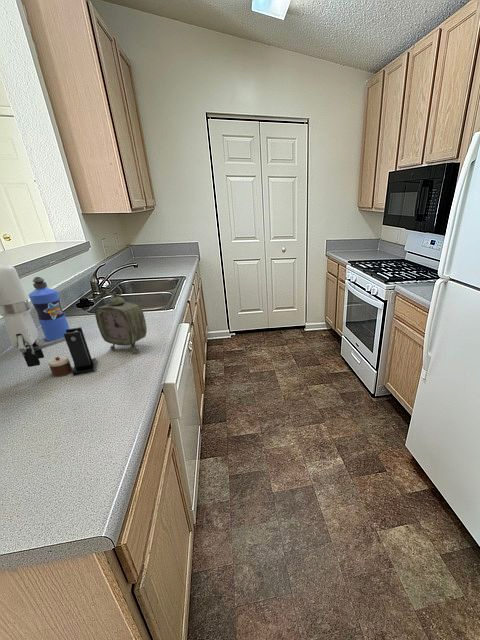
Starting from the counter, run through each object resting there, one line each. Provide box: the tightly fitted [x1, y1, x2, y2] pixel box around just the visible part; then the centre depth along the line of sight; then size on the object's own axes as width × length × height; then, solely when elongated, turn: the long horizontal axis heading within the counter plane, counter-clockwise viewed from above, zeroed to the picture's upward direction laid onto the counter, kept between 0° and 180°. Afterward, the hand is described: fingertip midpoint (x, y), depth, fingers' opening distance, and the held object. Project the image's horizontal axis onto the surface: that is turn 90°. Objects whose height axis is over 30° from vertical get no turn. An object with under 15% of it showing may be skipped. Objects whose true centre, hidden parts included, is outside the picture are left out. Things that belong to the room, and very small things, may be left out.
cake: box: [47, 355, 73, 377], centre depth 110 cm, size 6×6×6 cm
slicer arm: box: [28, 330, 78, 351], centre depth 107 cm, size 15×5×2 cm, turn 115°
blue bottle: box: [28, 276, 71, 342], centre depth 134 cm, size 9×9×25 cm
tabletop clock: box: [94, 283, 148, 354], centre depth 122 cm, size 14×9×25 cm, turn 74°
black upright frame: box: [64, 326, 97, 376], centre depth 111 cm, size 6×9×14 cm, turn 25°
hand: (36, 361), depth 107 cm, fingers closed on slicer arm, 5 cm apart
